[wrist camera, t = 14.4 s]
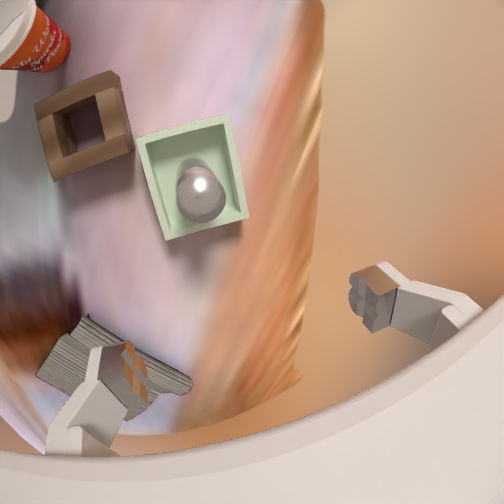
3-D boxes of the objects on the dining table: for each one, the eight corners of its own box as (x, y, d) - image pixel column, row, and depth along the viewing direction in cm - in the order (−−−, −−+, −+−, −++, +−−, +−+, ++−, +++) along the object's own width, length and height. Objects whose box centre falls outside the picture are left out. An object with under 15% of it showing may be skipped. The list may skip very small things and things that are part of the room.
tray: (140, 136, 28) (135, 139, 25) (223, 115, 30) (229, 114, 26) (166, 227, 34) (165, 240, 31) (241, 207, 36) (249, 217, 32)
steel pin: (172, 162, 30) (170, 183, 21) (206, 153, 31) (220, 169, 21) (180, 194, 32) (183, 228, 23) (213, 185, 33) (230, 216, 23)
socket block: (51, 105, 23) (34, 105, 19) (119, 76, 24) (110, 69, 20) (68, 172, 28) (53, 182, 23) (135, 147, 29) (128, 152, 25)
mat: (36, 367, 39) (31, 384, 35) (85, 302, 36) (79, 322, 32) (125, 415, 51) (125, 432, 47) (192, 369, 48) (195, 389, 44)
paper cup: (54, 89, 22) (-9, 81, 10) (17, 69, 19) (-47, 59, 7) (91, 35, 20) (47, -5, 8) (52, 17, 17) (2, -17, 5)
